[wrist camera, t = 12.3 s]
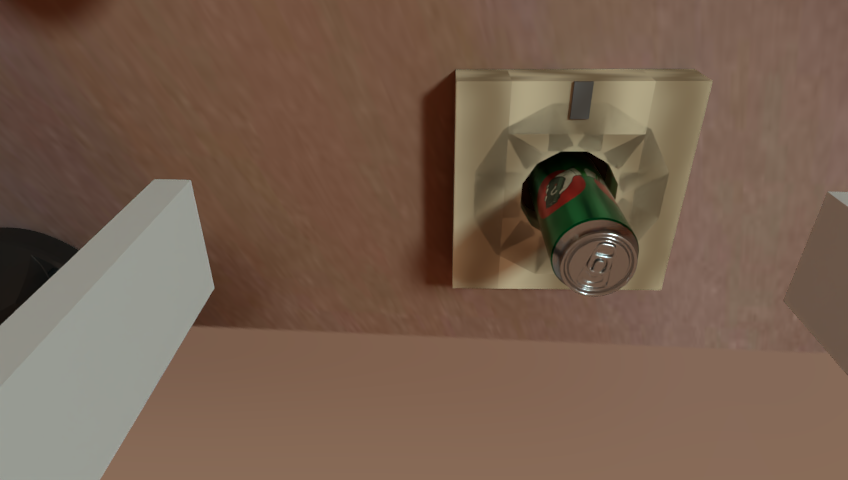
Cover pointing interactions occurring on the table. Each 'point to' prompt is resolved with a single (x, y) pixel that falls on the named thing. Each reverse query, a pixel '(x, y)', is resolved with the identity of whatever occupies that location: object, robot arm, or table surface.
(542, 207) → the soda can
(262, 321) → the table surface
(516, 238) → the hub block
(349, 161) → the table surface
